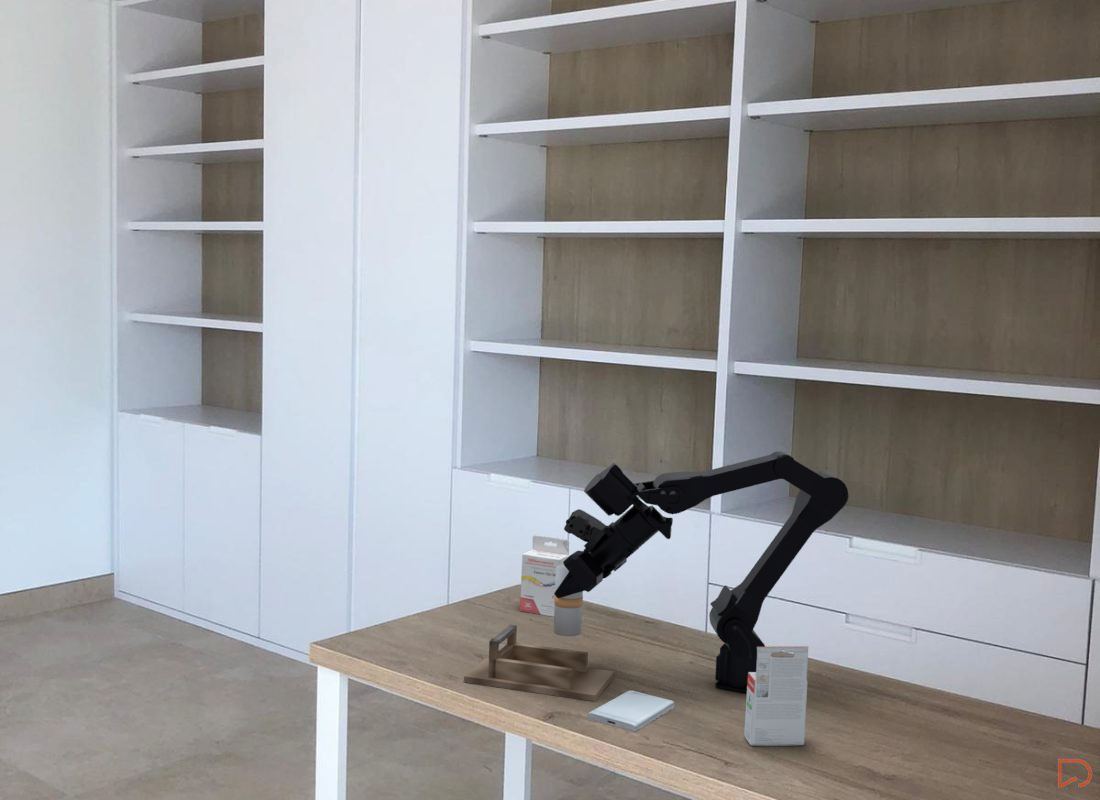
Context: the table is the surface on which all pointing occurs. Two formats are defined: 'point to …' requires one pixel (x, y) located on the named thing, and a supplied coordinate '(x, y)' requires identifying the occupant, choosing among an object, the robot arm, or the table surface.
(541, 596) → the ink cartridge box
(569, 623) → the white capped grey cylinder
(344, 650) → the table surface
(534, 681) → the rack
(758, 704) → the ink box
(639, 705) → the hard drive
